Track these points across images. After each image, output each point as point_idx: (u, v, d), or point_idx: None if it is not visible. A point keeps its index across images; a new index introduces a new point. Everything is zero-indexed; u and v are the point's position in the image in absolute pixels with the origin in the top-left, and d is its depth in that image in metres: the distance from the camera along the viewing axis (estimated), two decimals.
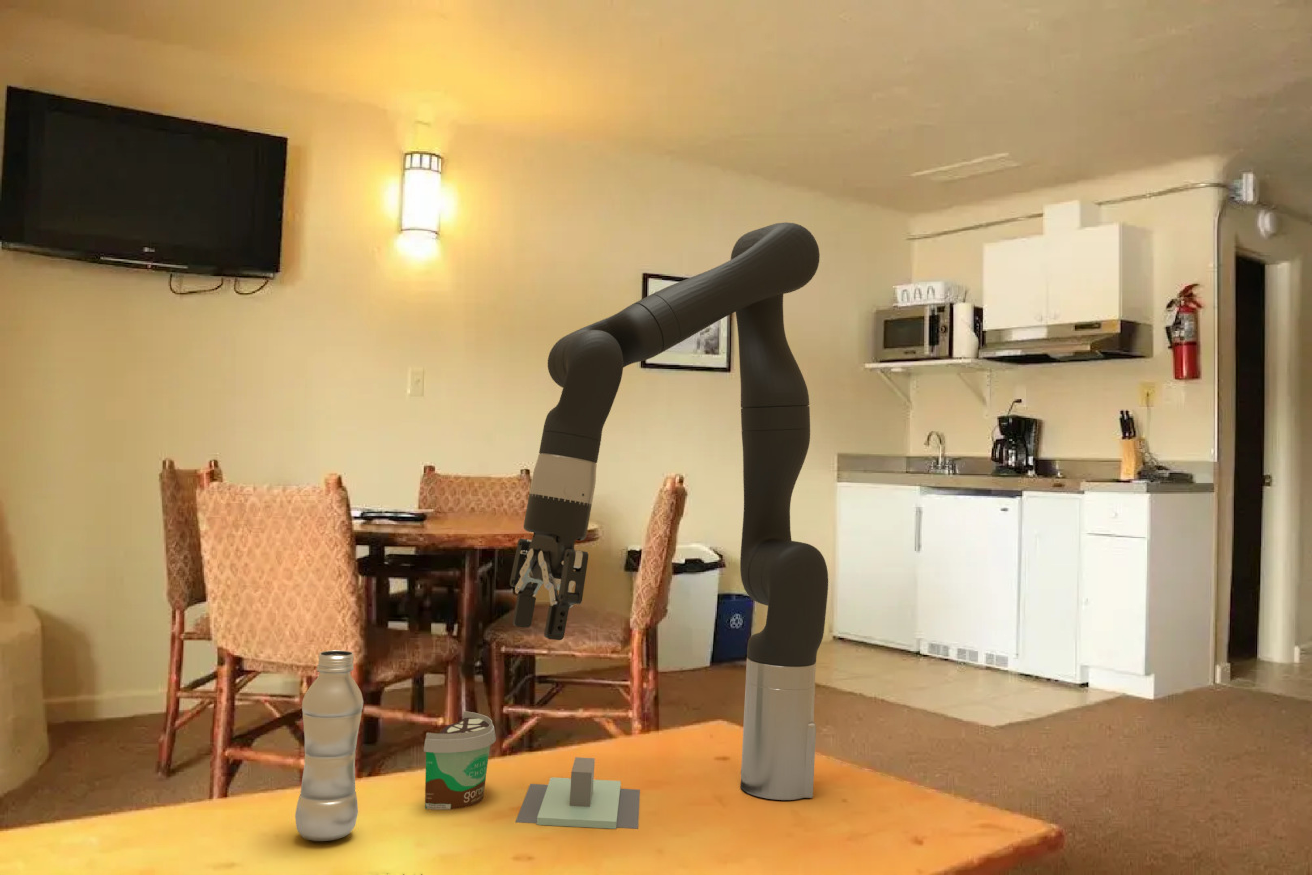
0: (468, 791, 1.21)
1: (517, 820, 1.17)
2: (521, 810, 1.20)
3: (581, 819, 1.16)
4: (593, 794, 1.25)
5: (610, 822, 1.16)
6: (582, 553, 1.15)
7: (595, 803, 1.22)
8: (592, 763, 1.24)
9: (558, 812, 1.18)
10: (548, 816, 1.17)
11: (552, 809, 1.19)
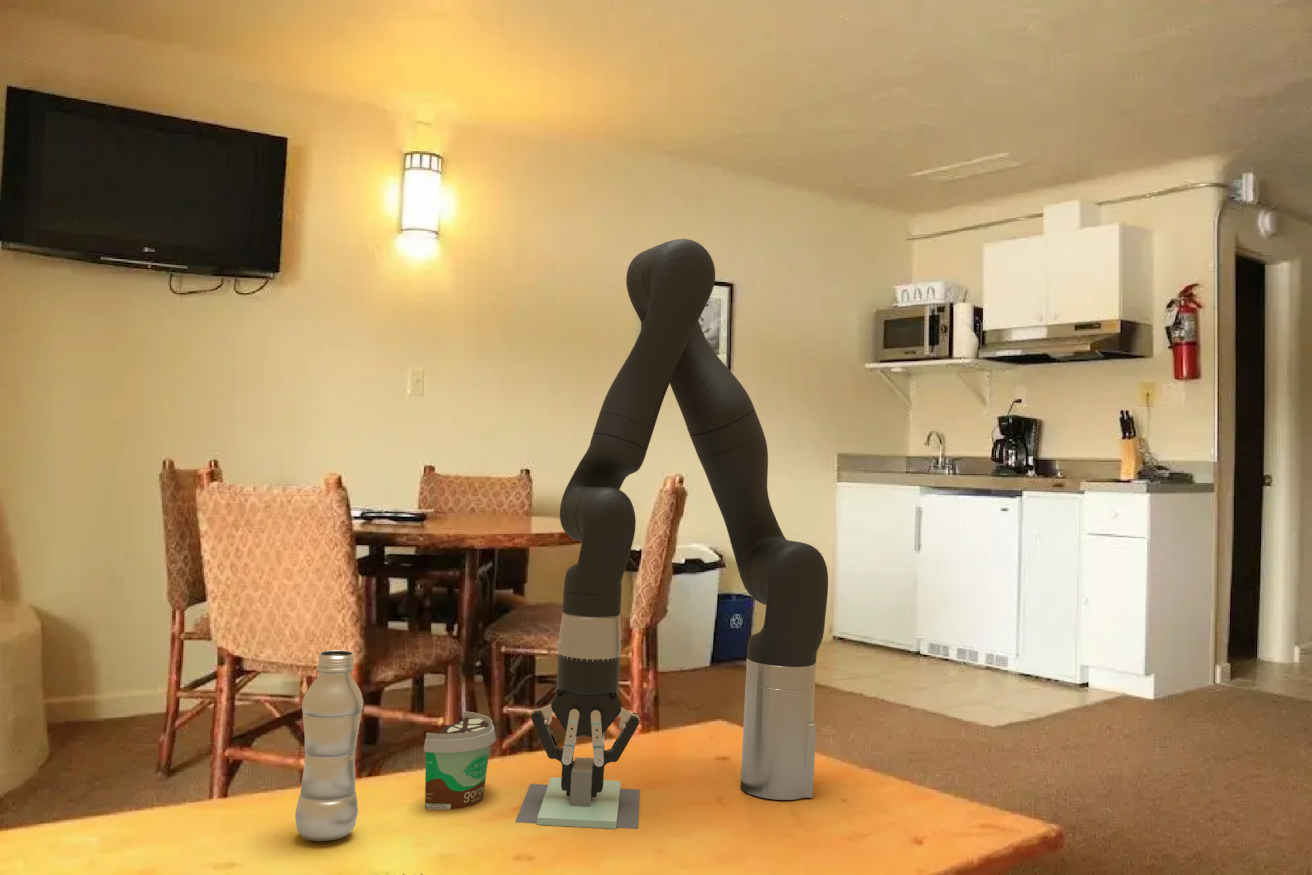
0: (468, 791, 1.21)
1: (517, 820, 1.17)
2: (521, 810, 1.20)
3: (581, 819, 1.16)
4: None
5: (610, 822, 1.16)
6: None
7: (595, 803, 1.22)
8: (592, 763, 1.24)
9: (558, 812, 1.18)
10: (548, 816, 1.17)
11: (552, 809, 1.19)
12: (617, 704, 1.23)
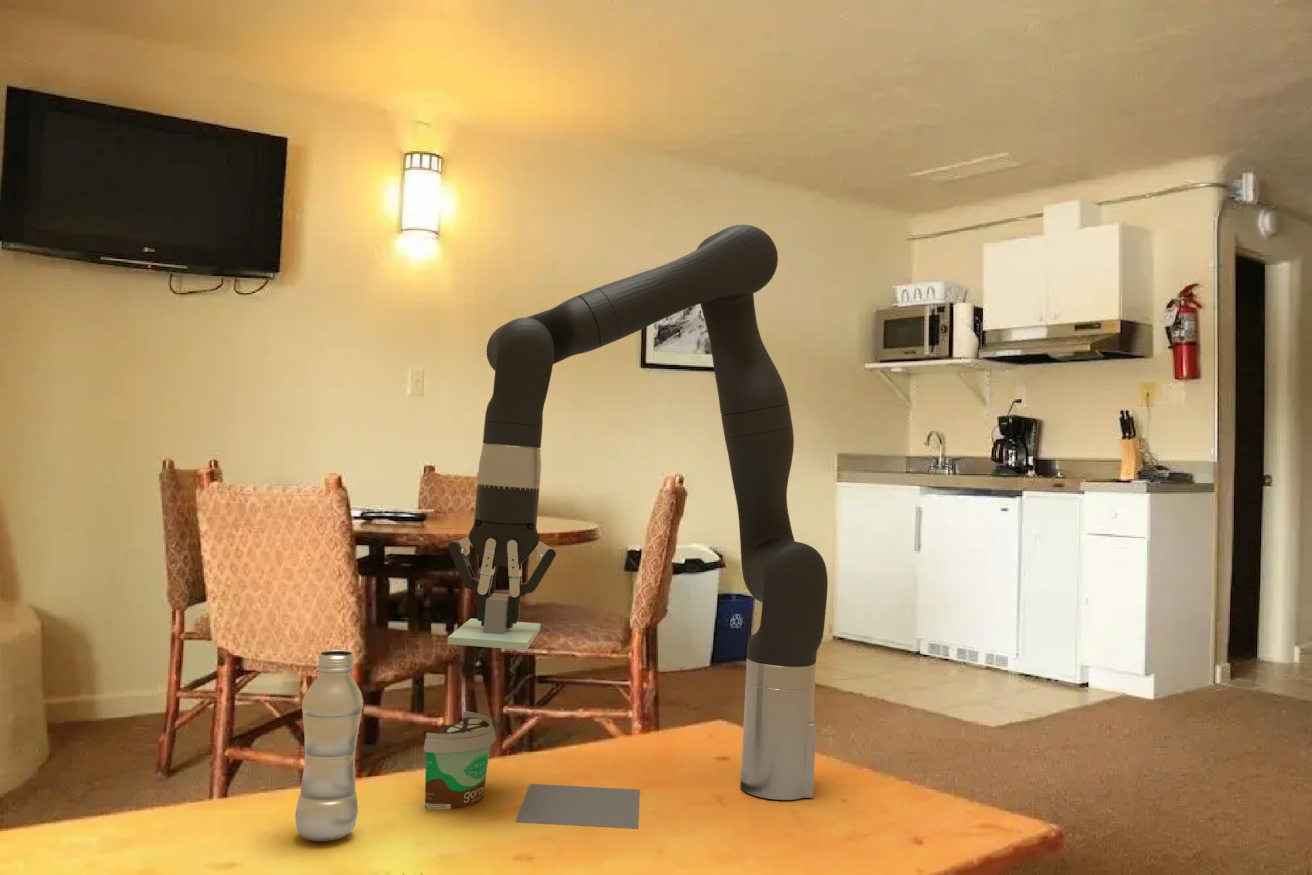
0: (468, 791, 1.21)
1: (517, 820, 1.17)
2: (521, 810, 1.20)
3: (492, 640, 1.16)
4: (510, 628, 1.25)
5: (521, 643, 1.16)
6: (556, 552, 1.25)
7: (510, 633, 1.22)
8: None
9: (470, 635, 1.18)
10: (459, 637, 1.17)
11: (465, 633, 1.19)
12: (534, 536, 1.23)
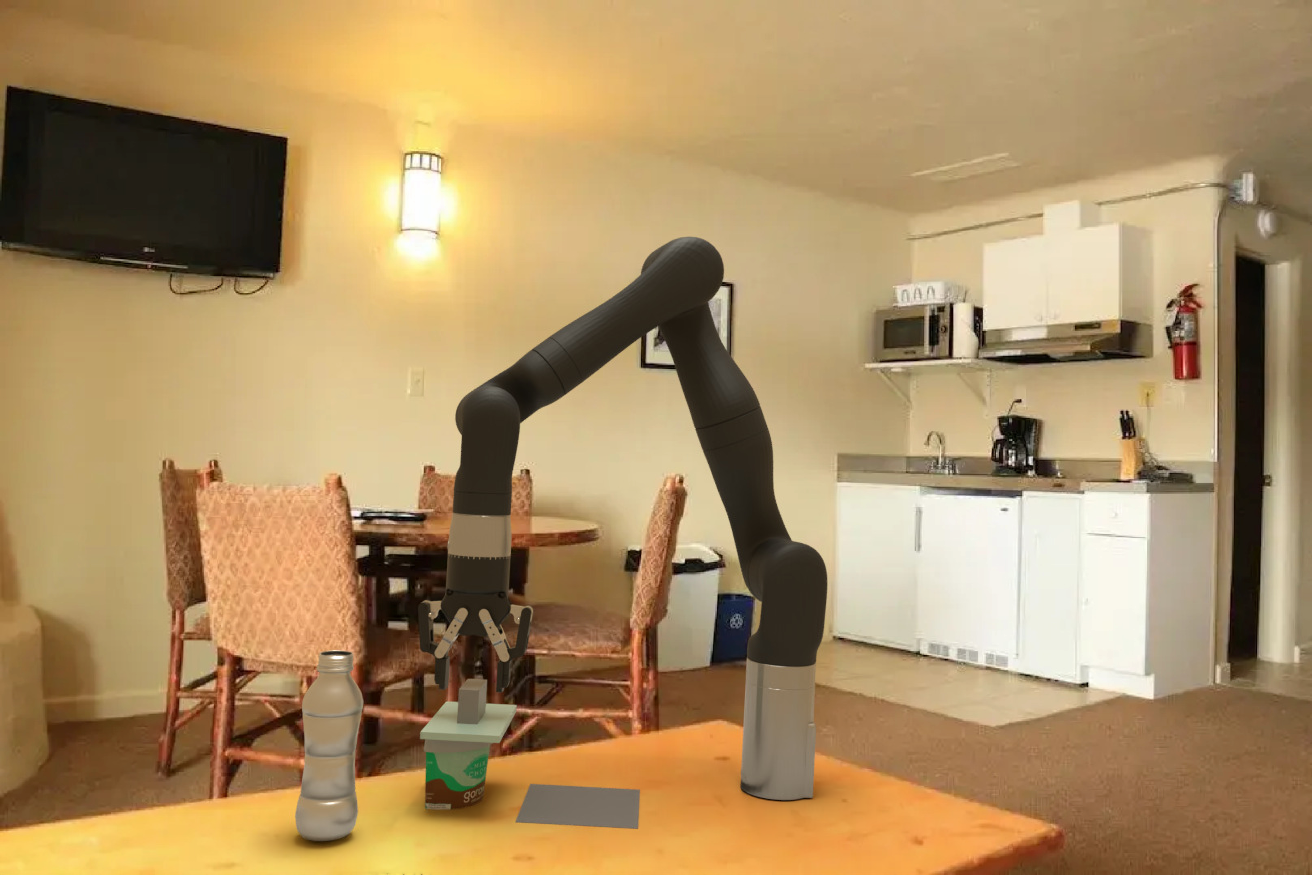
0: (468, 791, 1.21)
1: (517, 820, 1.17)
2: (521, 810, 1.20)
3: (465, 733, 1.16)
4: (484, 715, 1.25)
5: (493, 736, 1.16)
6: (532, 608, 1.25)
7: (484, 721, 1.22)
8: (483, 683, 1.25)
9: (443, 728, 1.18)
10: (432, 731, 1.17)
11: (438, 725, 1.19)
12: (504, 602, 1.23)
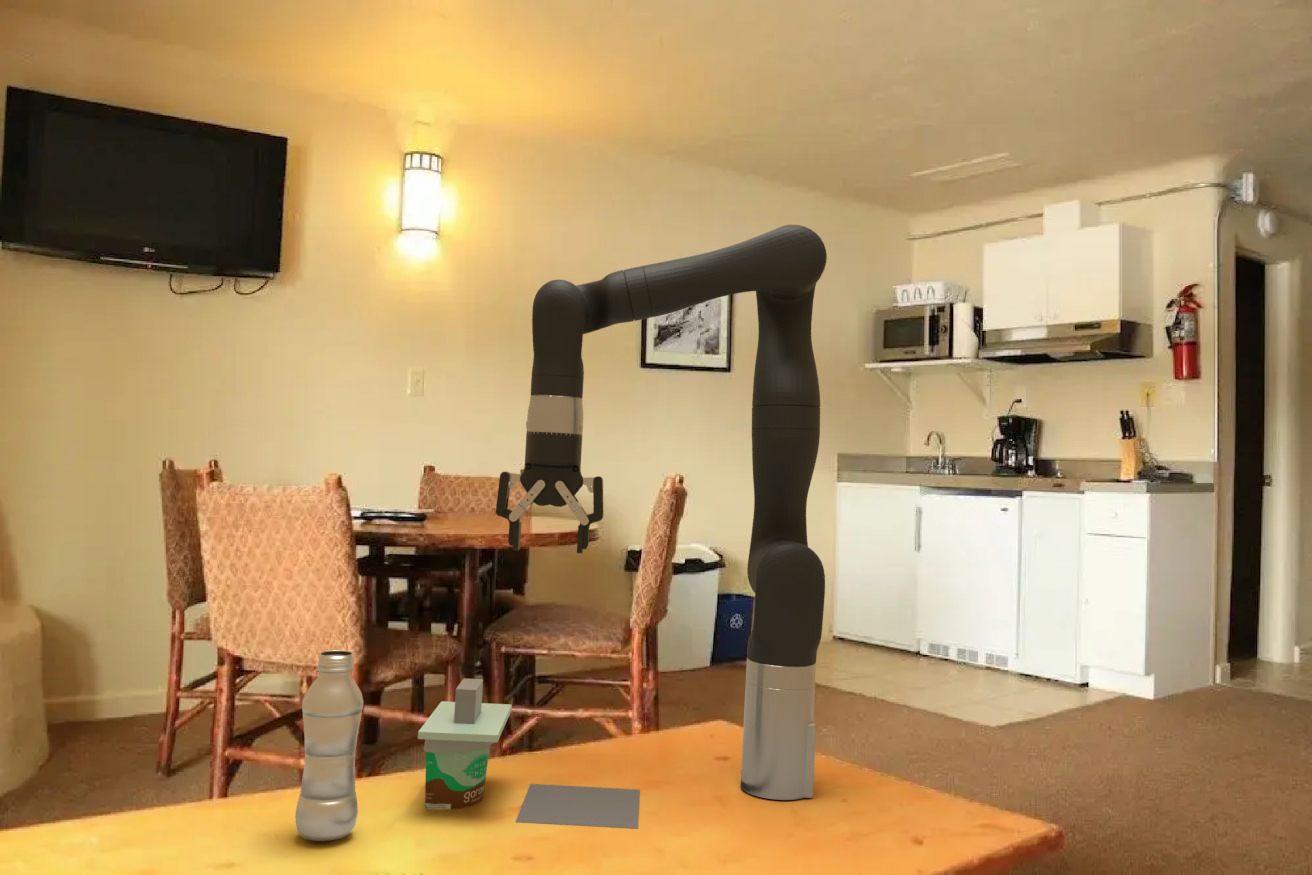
0: (468, 791, 1.21)
1: (517, 820, 1.17)
2: (521, 810, 1.20)
3: (462, 733, 1.16)
4: (480, 714, 1.25)
5: (491, 735, 1.16)
6: (602, 478, 1.38)
7: (480, 721, 1.22)
8: (479, 683, 1.25)
9: (441, 728, 1.18)
10: (429, 731, 1.17)
11: (435, 725, 1.19)
12: (577, 475, 1.37)
